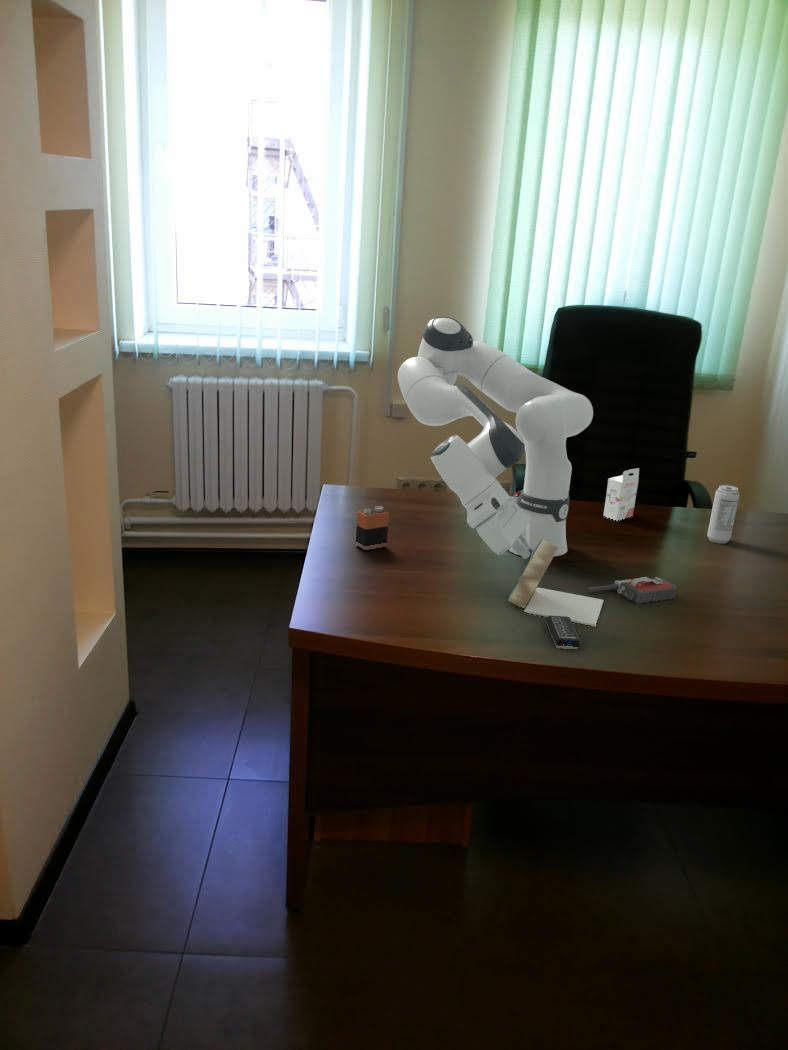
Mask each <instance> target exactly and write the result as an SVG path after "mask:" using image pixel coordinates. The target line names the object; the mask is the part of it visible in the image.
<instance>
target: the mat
mask: <svg viewBox="0 0 788 1050" xmlns="http://www.w3.org/2000/svg"><path fill="white" fill-rule="evenodd" d="M603 604H604V599H601V598H595V597H590V596H586V595H585V596H584V595H581V594H574V593H569V592H564V591H559V590H552V589H549V588H543V587H538V586H537V587H536V589H535V591H534V592H533V594H532V596H531V598H530V599H529V601H528V603H527V605H526V606H525V608H524V612H528V613H533V614H538V615H543V616H549V615H550V616H566V617H570V619H571V621H572V622H577V623H581V624H585V625H591V626H595V627H594V628H596V626H597V624H596V623H598V621H599V617H600V613H601V610H602V608H603ZM524 612H523V613H524ZM597 620H598V621H597ZM585 625H584V626H585Z"/></svg>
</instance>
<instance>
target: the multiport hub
mask: <svg viewBox="0 0 788 1050" xmlns="http://www.w3.org/2000/svg"><path fill="white" fill-rule="evenodd" d="M547 624H548V627H549V629H550V632H551V634H552V636H553V639H554V641H555V643H556V645H558V646H561V645H562V646H563V644H564V646H567V645H568V646H573V647H579V648H580V645H581V639H580V637H579V635H578V632H577V630H576V628H575V626H574V623H572V621H571V619H570V617H566V616H550V615H549V616H548V618H547V621H546V625H547ZM548 627H547V628H548ZM549 629H548V630H549ZM550 632H549V633H550ZM551 634H550V635H551Z"/></svg>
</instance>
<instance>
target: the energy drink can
mask: <svg viewBox="0 0 788 1050" xmlns="http://www.w3.org/2000/svg"><path fill="white" fill-rule="evenodd" d="M739 499H740V492H739V488H738V487H736V486H734V485H729V484H721V485H719V486H718V488H717V489H716V491H715V494H714V498H713V504H712V509H711V514H710V520H709V525H708V528H707V533H706V534H707V535H706V537H708V540H709V541H710V542H712V543H716V544H728V543H729V542H730V541H731V538H732V533H733V528H734V524H735V521H736V520H735V519H736V513H737V508H738V504H739Z"/></svg>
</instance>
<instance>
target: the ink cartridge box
mask: <svg viewBox="0 0 788 1050" xmlns="http://www.w3.org/2000/svg"><path fill="white" fill-rule="evenodd" d="M630 474H633V475H630ZM639 474H640V468H639V467H638V468H637V467H636V468H632V469H628V470H624V471H623V472H622V474H621V475H618V476H613V477H610V478H608V479H607V488H606V495H605V496H606V497H605V501H604V509H603V516H605V517H607V518H606V519H608V518H610V519H609V520H611V519H613V520H612V521H615V520H616V522H619V521H623V520H625V518H626V519H629V518H632V517H634V511H635V510H634V509H635V504H636V499H637V498H636V497H637V491H638V486H639V479H640V478H639V476H640V475H639ZM631 516H632V517H631ZM605 517H604V518H605ZM628 517H629V518H628ZM622 519H623V520H622ZM618 520H619V521H618Z"/></svg>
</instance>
